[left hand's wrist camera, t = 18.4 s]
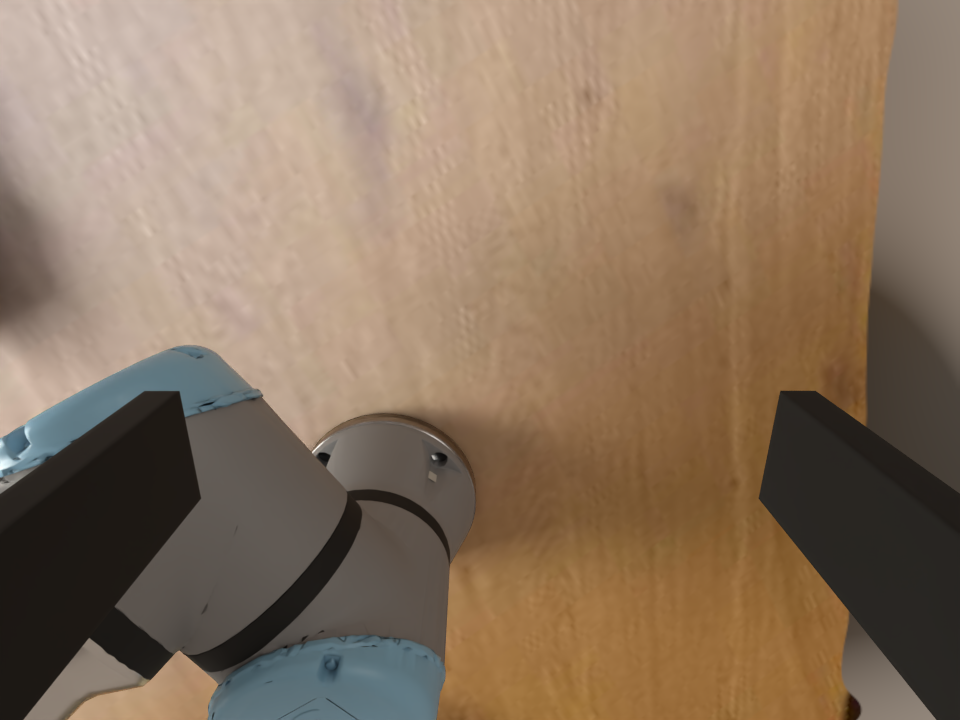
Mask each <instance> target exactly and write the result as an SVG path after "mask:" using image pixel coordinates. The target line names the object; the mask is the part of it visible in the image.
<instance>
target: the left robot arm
mask: <svg viewBox="0 0 960 720" xmlns="http://www.w3.org/2000/svg"><path fill="white" fill-rule="evenodd" d="M262 397H263V394H262V393H261V392H260V391H259V390H258V389H253V388H252V387H251V386H250V385H249V384H248V383H247V382H246V381H245V380H244V379H243V378H242V377H241V376H240V375H239V374H238V373H237V372H236V371H234V370H233V369H232V368H231V367H230V366H229V365H228V364H227V363H226V362H225V361H224V360H223V359H222V358H221V357H220V356H219V355H218V354H217V353H215V352H214V351H212V350H210V349H208V348H205V347H201V346H196V345H185V346H178V347H174V348H171V349H168V350H165V351H163V352H160V353H158V354H155V355H153V356H151V357H149V358H146V359H144V360H142V361H140V362H137V363H135V364H133V365H131V366H129V367H127V368H125V369H123V370H121V371H119V372H117V373H115V374H113V375H111V376H109V377H107V378H105V379H103V380H101V381H99V382H97V383H95V384H93V385H92V386H90V387H88V388H86V389H84V390H82V391H80V392H78V393H76V394H75V395H73V396H71V397H69V398H67V399H65V400H64V401H62V402H60V403H58V404H56V405H55V406H53V407H51V408H49V409H47V410H46V411H44V412H42V413H41V414H39V415H37V416H36V417H34V418H32V419H31V420H29V421H28V422H27V423H26V424H25V425H23V426H20V427H19V428H17V429H15V430H14V431H12V432H11V433H9V434H8V435H6V436H4V437H2V438H0V720H68V719H69V718H70V717H71V716H72V714H73V713H74V712H75V711H76V710H77V709H78V708H79V707H80V706H81V705H82V704H83V703H84V702H85V701H87V700H89V699H91V698H94V697H96V696H98V695H103V694H108V693H113V692H118V691H123V690H128V689H133V688H138V687H143V686H144V685H145V684H146V683H148V682H149V681H150V680H151V679H152V678H153V677H154V676H155V675H156V674H157V672H158V671H159V670H160V669H161V668H162V667H163V666H164V665H165V664H166V663H167V662H168V661H169V659H170V658H171V657H172V656H173V655H174V654H175V653H176V652H177V651H179V650H180V651H181V652H182V653H183V654H184V655H186V656H187V657H188V658H190V659H191V660H192V661H193V662H194V663H195V664H197V665H198V666H199V667H200V668H201V669H202V670H204V671H205V672H206V673H207V674H208V675H209V676H210V677H212V678H213V679H214V680H215V681H216V682H217V683H218V684H219V685H218V687H217V689H216V690H215V692H214V694H213V695H212V697H211V700H210V703H209V706H208V713H209V717H208V720H436V719H437V712H438V705H439V698H440V691H441V690H442V686H443V683H444V681H445V666H444V662H445V643H446V625H447V606H448V587H449V568H450V563H451V562H452V560H453V558H454V557H455V555H456V553H457V551H458V550H459V548H460V546H461V545H462V543H463V541H464V540H465V538H466V536H467V534H468V532H469V530H470V528H471V525H472V522H473V519H474V514H475V504H476V488H475V480H474V475H473V472H472V469H471V467H470V464H469V462H468V460H467V458H466V457H465V455H464V454H463V452H462V451H461V449H460V448H459V447H458V446H457V445H456V443H455V442H454V441H452V440H451V439H450V438H449V437H448V436H447V435H446V434H444V433H443V432H442V431H440V430H439V429H437V428H436V427H434V426H432V425H430V424H428V423H426V422H423V421H421V420H418V419H415V418H412V417H408V416H403V415H397V414H372V415H365V416H361V417H357V418H354V419H351V420H349V421H346V422H344V423H342V424H340V425H338V426H337V427H335V428H333V429H332V430H331V431H329V432H328V433H327V434H326V435H325V436H323V437H322V438H321V439H320V441H319V442H318V443H317V444H316V445H315V447H314V448H313V450H312V451H310V450H309V449H308V448H307V447H306V446H305V445H304V444H303V442H302V441H301V440H300V439H299V438H298V437H297V436H296V435H295V434H294V433H293V432H292V431H291V429H290V428H289V427H288V426H287V425H286V424H285V423H284V422H283V421H282V420H281V418H280V417H279V416H278V415H277V414H276V413H275V412H274V411H273V409H272V408H271V407H270V406H269V405H268V404H267V403H266V402H265V400H264V399H263V398H262ZM759 499H760V501H761V502H762V503H763V504H764V506H765V507H766V508H767V509H768V511H769V512H770V513H771V514H772V516H773V517H774V518H775V519H776V521H777V522H778V523H779V524H780V526H781V527H782V528H783V529H784V531H785V532H786V533H787V534H788V536H789V537H790V538H791V539H792V541H793V542H794V543H795V544H796V546H797V547H798V548H799V549H800V550H801V552H802V553H803V554H804V555H805V557H806V558H807V559H808V560H809V562H810V563H811V564H812V565H813V567H814V568H815V569H816V570H817V572H818V573H819V574H820V575H821V577H822V578H823V579H824V580H825V582H826V583H827V584H828V585H829V587H830V588H831V589H832V590H833V592H834V593H835V594H836V595H837V597H838V598H839V599H840V600H841V601H842V603H843V604H844V605H845V606H846V608H847V609H848V610H849V611H850V613H851V614H852V615H853V616H854V618H855V619H856V620H857V621H858V623H859V624H860V625H861V626H862V628H863V629H864V630H865V631H866V633H867V634H868V635H869V636H870V638H871V639H872V640H873V641H874V643H875V644H876V645H877V646H878V648H879V649H880V650H881V651H882V652H883V654H884V655H885V656H886V657H887V659H888V660H889V661H890V662H891V664H892V665H893V666H894V667H895V669H896V670H897V671H898V672H899V674H900V675H901V676H902V677H903V679H904V680H905V681H906V682H907V684H908V685H909V686H910V687H911V689H912V690H913V691H914V692H915V693H916V695H917V696H918V697H919V698H920V700H921V701H922V702H923V704H924V705H925V706H926V707H927V709H928V710H929V711H930V712H931V713H932V715H933V716H934V717H935V718H936V720H960V494H959V493H958V492H957V491H955V490H954V489H952V488H951V487H949V486H948V485H947V484H945V483H944V482H942V481H941V480H940V479H938V478H937V477H935V476H934V475H933V474H931V473H930V472H928V471H927V470H926V469H924V468H923V467H921V466H920V465H919V464H917V463H916V462H914V461H913V460H912V459H910V458H909V457H907V456H906V455H905V454H903V453H902V452H900V451H899V450H898V449H896V448H895V447H893V446H892V445H891V444H889V443H888V442H886V441H885V440H884V439H882V438H881V437H879V436H878V435H877V434H875V433H874V432H872V431H871V430H870V429H868V428H867V427H865V426H864V425H863V424H861V423H860V422H858V421H857V420H856V419H854V418H853V417H851V416H850V415H849V414H847V413H846V412H844V411H843V410H842V409H840V408H839V407H837V406H836V405H835V404H833V403H832V402H830V401H829V400H828V399H826V398H825V397H823V396H822V395H821V394H819V393H818V392H816V391H780V395H779V400H778V405H777V410H776V415H775V420H774V425H773V430H772V435H771V440H770V445H769V450H768V455H767V460H766V465H765V470H764V475H763V480H762V485H761V490H760V495H759Z"/></svg>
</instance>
